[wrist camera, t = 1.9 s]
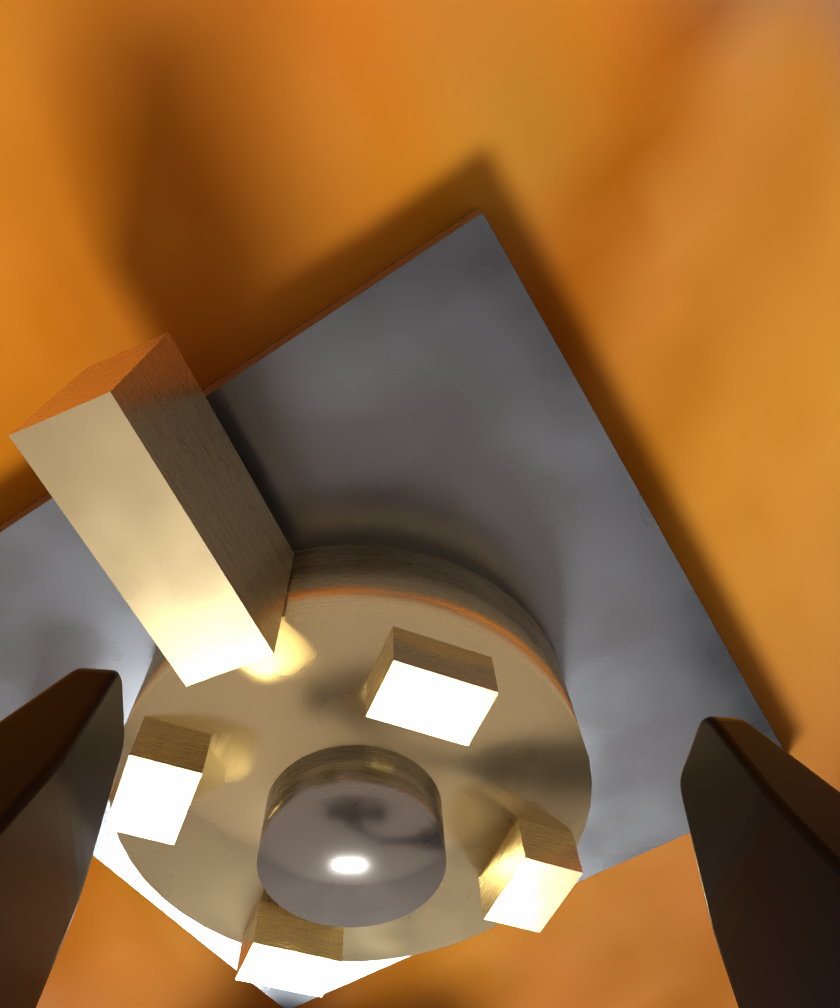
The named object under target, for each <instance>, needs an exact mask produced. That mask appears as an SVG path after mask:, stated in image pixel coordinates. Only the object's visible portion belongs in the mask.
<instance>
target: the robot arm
mask: <svg viewBox="0 0 840 1008" xmlns="http://www.w3.org/2000/svg"><path fill="white" fill-rule="evenodd" d="M123 743H124V709H123V687H122V679H121V676H120V674H119V673H118V672H117V671H115V670H108V669H96V668H78V669H75V670H73V671H72V672H70V673H69V674H67V675H66V676H64V677H63V678H61V679H60V680H59V681H57V682H56V683H54V684H53V685H51V686H50V687H49V688H47V689H46V690H44V691H43V692H41V693H40V694H38V695H37V696H36V697H34V698H33V699H31V700H30V701H28V702H27V703H26V704H24V705H23V706H21V707H20V708H18V709H17V710H16V711H14V712H13V713H11V714H10V715H8V716H7V717H5V718H4V719H3V720H1V721H0V1008H36V1006H37V1003H38V1001H39V999H40V996H41V994H42V991H43V989H44V986H45V984H46V982H47V979H48V977H49V974H50V972H51V969H52V967H53V964H54V962H55V960H56V957H57V955H58V952H59V950H60V947H61V945H62V943H63V940H64V938H65V935H66V933H67V930H68V928H69V926H70V923H71V920H72V918H73V915H74V912H75V910H76V907H77V904H78V902H79V899H80V896H81V893H82V889H83V886H84V883H85V879H86V876H87V873H88V870H89V866H90V863H91V859H92V856H93V852H94V849H95V845H96V842H97V838H98V835H99V831H100V828H101V824H102V821H103V817H104V814H105V810H106V807H107V803H108V800H109V796H110V793H111V789H112V786H113V782H114V779H115V775H116V772H117V768H118V765H119V762H120V758H121V754H122V749H123ZM680 788H681V795H682V800H683V804H684V808H685V813H686V817H687V821H688V826H689V830H690V834H691V839H692V843H693V847H694V852H695V856H696V860H697V865H698V869H699V873H700V878H701V882H702V886H703V891H704V895H705V900H706V904H707V908H708V912H709V916H710V920H711V923H712V927H713V931H714V934H715V937H716V941H717V944H718V947H719V950H720V953H721V956H722V959H723V962H724V965H725V968H726V971H727V974H728V977H729V980H730V983H731V986H732V989H733V992H734V995H735V998H736V1001H737V1004H738V1007H739V1008H840V792H839V791H837V790H836V789H835V788H833V787H832V786H831V785H829V784H828V783H827V782H825V781H824V780H823V779H822V778H820V777H819V776H818V775H816V774H815V773H814V772H812V771H811V770H810V769H808V768H807V767H806V766H805V765H803V764H802V763H801V762H799V761H798V760H797V759H795V758H794V757H793V756H791V755H790V754H789V753H787V752H786V751H785V750H784V749H782V748H781V747H780V746H778V745H777V744H776V743H774V742H773V741H772V740H770V739H769V738H768V737H767V736H765V735H764V734H763V733H761V732H760V731H759V730H757V729H756V728H755V727H753V726H752V725H751V724H749V723H748V722H747V721H745V720H743V719H739V718H730V717H717V716H710V717H706V718H705V719H703V720H702V722H701V723H700V725H699V727H698V729H697V732H696V734H695V737H694V739H693V742H692V745H691V747H690V750H689V752H688V755H687V758H686V760H685V763H684V766H683V768H682V772H681V778H680Z"/></svg>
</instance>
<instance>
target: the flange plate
mask: <svg viewBox="0 0 840 1008" xmlns="http://www.w3.org/2000/svg"><path fill="white" fill-rule="evenodd" d="M202 392H203V393H204V395H205V397H206V399H207V400H208V402H209V404H210V406H211V408H212V409H213V411H214V413H215V415H216V416H217V418H218V420H219V422H220V423H221V425H222V427H223V429H224V430H225V432H226V434H227V436H228V438H229V439H230V441H231V443H232V445H233V446H234V448H235V450H236V452H237V453H238V455H239V457H240V459H241V461H242V462H243V464H244V466H245V468H246V469H247V471H248V473H249V475H250V476H251V478H252V480H253V482H254V483H255V485H256V487H257V489H258V491H259V492H260V494H261V496H262V498H263V499H264V501H265V503H266V505H267V506H268V508H269V510H270V512H271V514H272V515H273V517H274V519H275V521H276V522H277V524H278V526H279V528H280V529H281V531H282V533H283V535H284V536H285V538H286V540H287V542H288V544H289V545H290V547H291V549H292V551H299V550H304V549H309V548H314V547H320V546H334V545H347V544H357V545H382V546H388V547H395V548H401V549H408V550H413V551H417V552H420V553H424V554H428V555H431V556H435V557H438V558H442V559H444V560H447V561H449V562H452V563H454V564H456V565H459V566H461V567H464V568H466V569H469V570H470V571H472V572H474V573H476V574H477V575H479V576H481V577H483V578H484V579H486V580H488V581H490V582H491V583H493V584H494V585H496V586H497V587H498V588H500V589H501V590H502V591H504V592H505V593H506V594H508V595H509V596H510V597H512V598H513V599H514V600H515V601H516V602H517V603H518V604H519V605H520V606H521V607H522V608H523V609H524V610H525V611H526V612H527V613H528V614H529V615H530V616H531V617H532V618H533V619H534V621H535V622H536V624H537V625H538V626H539V628H540V629H541V630H542V632H543V633H544V634H545V636H546V637H547V639H548V641H549V643H550V645H551V647H552V649H553V651H554V653H555V655H556V657H557V659H558V662H559V666H560V669H561V672H562V675H563V678H564V681H565V684H566V687H567V691H568V694H569V697H570V700H571V703H572V706H573V709H574V712H575V716H576V719H577V722H578V725H579V728H580V731H581V734H582V738H583V741H584V744H585V747H586V750H587V753H588V756H589V761H590V769H591V777H592V792H591V805H590V810H589V814H588V818H587V823H586V826H585V829H584V831H583V834H582V836H581V838H580V841H579V843H578V846H577V851H578V855H579V859H580V863H581V866H582V870H583V874H582V875H581V877H580V878H579V879H578V881H577V882H579V881H581V880H583V879H586V878H588V877H590V876H592V875H595V874H597V873H599V872H601V871H604V870H606V869H608V868H610V867H613V866H615V865H617V864H620V863H622V862H624V861H626V860H629V859H631V858H633V857H635V856H638V855H640V854H642V853H644V852H647V851H649V850H651V849H653V848H656V847H658V846H660V845H663V844H665V843H667V842H669V841H672V840H674V839H676V838H678V837H681V836H683V835H685V834H687V833H690V830H689V826H688V821H687V817H686V813H685V808H684V804H683V800H682V795H681V788H680V778H681V772H682V768H683V766H684V763H685V760H686V758H687V755H688V752H689V750H690V747H691V745H692V742H693V739H694V737H695V734H696V732H697V729H698V727H699V725H700V723H701V722H702V720H703V719H705V718H706V717H710V716H717V717H730V718H739V719H743V720H745V721H747V722H748V723H749V724H751V725H752V726H753V727H755V728H756V729H757V730H759V731H760V732H761V733H763V734H764V735H765V736H767V737H768V738H769V739H770V740H772V741H773V742H774V743H776V744H777V745H778V746H780V747H781V748H782V746H781V745H780V743H779V741H778V739H777V737H776V736H775V734H774V732H773V730H772V728H771V727H770V725H769V723H768V721H767V719H766V718H765V716H764V714H763V712H762V711H761V709H760V707H759V705H758V703H757V702H756V700H755V698H754V696H753V694H752V693H751V691H750V689H749V687H748V686H747V684H746V682H745V680H744V678H743V677H742V675H741V673H740V671H739V669H738V668H737V666H736V664H735V662H734V661H733V659H732V657H731V655H730V653H729V652H728V650H727V648H726V646H725V644H724V643H723V641H722V639H721V637H720V635H719V634H718V632H717V630H716V628H715V627H714V625H713V623H712V621H711V619H710V618H709V616H708V614H707V612H706V610H705V609H704V607H703V605H702V603H701V602H700V600H699V598H698V596H697V594H696V593H695V591H694V589H693V587H692V585H691V584H690V582H689V580H688V578H687V577H686V575H685V573H684V571H683V569H682V568H681V566H680V564H679V562H678V560H677V559H676V557H675V555H674V553H673V552H672V550H671V548H670V546H669V544H668V543H667V541H666V539H665V537H664V535H663V534H662V532H661V530H660V528H659V526H658V525H657V523H656V521H655V519H654V518H653V516H652V514H651V512H650V510H649V509H648V507H647V505H646V503H645V501H644V500H643V498H642V496H641V494H640V493H639V491H638V489H637V487H636V485H635V484H634V482H633V480H632V478H631V476H630V475H629V473H628V471H627V469H626V468H625V466H624V464H623V462H622V460H621V459H620V457H619V455H618V453H617V451H616V450H615V448H614V446H613V444H612V443H611V441H610V439H609V437H608V435H607V434H606V432H605V430H604V428H603V426H602V425H601V423H600V421H599V419H598V417H597V416H596V414H595V412H594V410H593V409H592V407H591V405H590V403H589V401H588V400H587V398H586V396H585V394H584V392H583V391H582V389H581V387H580V385H579V384H578V382H577V380H576V378H575V376H574V375H573V373H572V371H571V369H570V367H569V366H568V364H567V362H566V360H565V359H564V357H563V355H562V353H561V351H560V350H559V348H558V346H557V344H556V342H555V341H554V339H553V337H552V335H551V333H550V332H549V330H548V328H547V326H546V325H545V323H544V321H543V319H542V317H541V316H540V314H539V312H538V310H537V308H536V307H535V305H534V303H533V301H532V300H531V298H530V296H529V294H528V292H527V291H526V289H525V287H524V285H523V283H522V282H521V280H520V278H519V276H518V275H517V273H516V271H515V269H514V267H513V266H512V264H511V262H510V260H509V258H508V257H507V255H506V253H505V251H504V250H503V248H502V246H501V244H500V242H499V241H498V239H497V237H496V235H495V233H494V232H493V230H492V228H491V226H490V224H489V223H488V221H487V219H486V217H485V216H484V214H483V212H482V211H481V210H480V209H479V208H476V209H475V210H473V211H472V212H470V213H469V214H467V215H466V216H464V217H463V218H461V219H460V220H458V221H457V222H455V223H454V224H452V225H451V226H449V227H448V228H446V229H445V230H443V231H442V232H440V233H439V234H437V235H436V236H434V237H433V238H431V239H430V240H428V241H427V242H425V243H424V244H422V245H421V246H419V247H418V248H416V249H415V250H413V251H412V252H410V253H409V254H407V255H406V256H404V257H403V258H401V259H400V260H398V261H397V262H395V263H394V264H392V265H391V266H389V267H388V268H386V269H385V270H383V271H382V272H380V273H379V274H377V275H376V276H374V277H373V278H371V279H370V280H368V281H367V282H365V283H364V284H362V285H361V286H359V287H358V288H356V289H355V290H353V291H352V292H350V293H349V294H347V295H346V296H344V297H342V298H341V299H339V300H338V301H336V302H335V303H333V304H332V305H330V306H329V307H327V308H326V309H324V310H323V311H321V312H320V313H318V314H317V315H315V316H314V317H312V318H311V319H309V320H308V321H306V322H305V323H303V324H302V325H300V326H299V327H297V328H296V329H294V330H293V331H291V332H290V333H288V334H287V335H285V336H284V337H282V338H281V339H279V340H278V341H276V342H275V343H273V344H272V345H270V346H269V347H267V348H266V349H264V350H263V351H261V352H260V353H258V354H257V355H255V356H254V357H252V358H251V359H249V360H248V361H246V362H245V363H243V364H242V365H240V366H239V367H237V368H236V369H234V370H233V371H231V372H230V373H228V374H227V375H225V376H224V377H222V378H221V379H219V380H218V381H216V382H215V383H213V384H212V385H210V386H209V387H207V388H206V389H204V390H203V391H202ZM157 648H158V646H157V644H156V643H155V642H154V640H153V639H152V637H151V636H150V635H149V633H148V632H147V630H146V629H145V627H144V626H143V625H142V623H141V622H140V620H139V619H138V618H137V616H136V615H135V613H134V612H133V611H132V609H131V608H130V606H129V605H128V603H127V602H126V601H125V599H124V598H123V596H122V595H121V594H120V592H119V591H118V589H117V588H116V586H115V585H114V584H113V582H112V581H111V579H110V578H109V577H108V575H107V574H106V572H105V571H104V569H103V568H102V567H101V565H100V564H99V562H98V561H97V560H96V558H95V557H94V555H93V554H92V553H91V551H90V550H89V548H88V547H87V545H86V544H85V543H84V541H83V540H82V538H81V537H80V536H79V534H78V533H77V531H76V530H75V528H74V527H73V526H72V524H71V523H70V521H69V520H68V519H67V517H66V516H65V514H64V513H63V512H62V510H61V509H60V507H59V506H58V504H57V503H56V502H55V500H54V499H53V497H52V496H51V495H50V493H48V494H46V495H45V496H43V497H42V498H40V499H39V500H37V501H36V502H34V503H33V504H31V505H30V506H28V507H27V508H25V509H24V510H22V511H21V512H19V513H18V514H16V515H15V516H13V517H12V518H10V519H9V520H7V521H6V522H4V523H3V524H1V525H0V721H1V720H3V719H4V718H5V717H7V716H8V715H10V714H11V713H13V712H14V711H16V710H17V709H18V708H20V707H21V706H23V705H24V704H26V703H27V702H28V701H30V700H31V699H33V698H34V697H36V696H37V695H38V694H40V693H41V692H43V691H44V690H46V689H47V688H49V687H50V686H51V685H53V684H54V683H56V682H57V681H59V680H60V679H61V678H63V677H64V676H66V675H67V674H69V673H70V672H72V671H73V670H75V669H78V668H96V669H108V670H115V671H117V672H118V673H119V674H120V676H121V679H122V687H123V709H124V726H125V723H126V721H127V719H128V716H129V714H130V712H131V709H132V707H133V704H134V702H135V700H136V697H137V695H138V693H139V690H140V688H141V686H142V683H143V681H144V678H145V676H146V674H147V671H148V669H149V667H150V664H151V662H152V660H153V657H154V655H155V653H156V650H157ZM782 749H783V748H782ZM110 811H111V808H110V801H109V800H108V803H107V807H106V810H105V814H104V817H103V821H102V824H101V828H100V831H99V835H98V838H97V842H96V845H95V849H94V852H93V855H94V856H95V857H96V858H97V859H99V860H100V861H101V862H102V863H104V864H105V865H106V866H107V867H109V868H110V869H111V870H112V871H114V872H115V873H116V874H117V875H119V876H120V877H121V878H122V879H124V880H125V881H126V882H127V883H129V884H130V885H131V886H132V887H133V888H135V889H136V890H137V891H138V892H140V893H141V894H142V895H143V896H145V897H146V898H147V899H148V900H150V901H151V902H152V903H153V904H155V905H156V906H157V907H158V908H160V909H161V910H162V911H163V912H165V913H166V914H167V915H168V916H170V917H171V918H172V919H173V920H175V921H176V922H177V923H178V924H180V925H181V926H182V927H183V928H184V929H186V930H187V931H188V932H189V933H191V934H192V935H193V936H194V937H196V938H197V939H198V940H199V941H201V942H202V943H203V944H204V945H206V946H207V947H208V948H209V949H211V950H212V951H213V952H214V953H216V954H217V955H218V956H219V957H221V958H222V959H223V960H224V961H226V962H227V963H228V964H229V965H231V966H232V967H233V968H234V969H235V970H237V966H238V960H239V955H240V949H241V943H240V942H237V941H234V940H232V939H229V938H227V937H224V936H222V935H220V934H218V933H216V932H214V931H212V930H210V929H208V928H206V927H204V926H202V925H200V924H199V923H197V922H195V921H194V920H192V919H191V918H189V917H187V916H186V915H184V914H182V913H181V912H180V911H179V910H177V909H176V908H175V907H173V906H172V905H171V904H170V903H168V902H167V901H166V900H164V899H163V898H162V897H161V896H160V895H159V894H158V893H157V892H156V891H155V890H154V889H153V888H152V887H151V886H150V885H149V884H148V883H147V882H146V881H145V880H144V878H143V877H142V876H141V874H140V873H139V872H138V870H137V869H136V868H135V866H134V865H133V864H132V862H131V861H130V859H129V857H128V855H127V853H126V852H125V850H124V848H123V846H122V844H121V842H120V840H119V837H118V834H117V831H113V830H108V829H105V826H106V823H107V820H108V817H109V814H110ZM577 882H576V883H577ZM407 957H409V956H405V957H398V958H392V959H383V960H371V961H342V963H341V965H340V967H339V968H338V970H337V972H336V974H335V975H334V977H333V979H332V981H331V982H330V984H329V986H328V987H327V989H326V991H325V993H328V992H330V991H332V990H334V989H337V988H339V987H341V986H343V985H346V984H348V983H350V982H353V981H355V980H357V979H359V978H362V977H364V976H366V975H368V974H371V973H373V972H375V971H377V970H380V969H382V968H384V967H386V966H389V965H391V964H393V963H396V962H398V961H400V960H402V959H405V958H407ZM253 984H254V983H253ZM254 985H255V986H257V987H258V988H259V989H260V990H262V991H263V992H264V993H265V994H267V995H268V996H269V997H270V998H272V999H273V1000H274V1001H275V1002H277V1003H278V1004H279V1005H280V1006H281V1007H283V1008H294V1007H296V1006H298V1005H300V1004H303V1003H305V1002H307V1001H310V1000H312V999H314V998H316V997H317V996H312V995H307V994H303V993H298V992H293V991H288V990H283V989H278V988H273V987H269V986H264V985H259V984H254ZM325 993H324V994H325Z"/></svg>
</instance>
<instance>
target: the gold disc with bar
mask: <svg viewBox="0 0 840 1008" xmlns="http://www.w3.org/2000/svg"><path fill="white" fill-rule="evenodd" d="M9 437H10V438H11V439H12V441H13V442H14V444H15V445H16V446H17V448H18V449H19V451H20V452H21V454H22V455H23V456H24V458H25V459H26V461H27V462H28V463H29V465H30V466H31V468H32V469H33V471H34V472H35V473H36V475H37V476H38V478H39V479H40V480H41V482H42V483H43V485H44V486H45V487H46V489H47V490H48V492H49V493H50V495H51V496H52V497H53V499H54V500H55V502H56V503H57V504H58V506H59V507H60V509H61V510H62V512H63V513H64V514H65V516H66V517H67V519H68V520H69V521H70V523H71V524H72V526H73V527H74V528H75V530H76V531H77V533H78V534H79V536H80V537H81V538H82V540H83V541H84V543H85V544H86V545H87V547H88V548H89V550H90V551H91V553H92V554H93V555H94V557H95V558H96V560H97V561H98V562H99V564H100V565H101V567H102V568H103V569H104V571H105V572H106V574H107V575H108V577H109V578H110V579H111V581H112V582H113V584H114V585H115V586H116V588H117V589H118V591H119V592H120V594H121V595H122V596H123V598H124V599H125V601H126V602H127V603H128V605H129V606H130V608H131V609H132V611H133V612H134V613H135V615H136V616H137V618H138V619H139V620H140V622H141V623H142V625H143V626H144V627H145V629H146V630H147V632H148V633H149V635H150V636H151V637H152V639H153V640H154V642H155V643H156V644H157V646H158V648H157V650H156V653H155V655H154V657H153V660H152V662H151V664H150V667H149V669H148V671H147V674H146V676H145V678H144V681H143V683H142V686H141V688H140V690H139V693H138V695H137V697H136V700H135V702H134V704H133V707H132V709H131V712H130V714H129V716H128V719H127V721H126V723H125V726H124V743H123V749H122V754H121V758H120V762H119V765H118V768H117V772H116V775H115V779H114V782H113V786H112V789H111V793H110V796H109V801H110V808H111V811H110V814H109V817H108V820H107V823H106V826H105V829H108V830H113V831H117V834H118V837H119V840H120V842H121V844H122V846H123V848H124V850H125V852H126V853H127V855H128V857H129V859H130V861H131V862H132V864H133V865H134V866H135V868H136V869H137V870H138V872H139V873H140V874H141V876H142V877H143V878H144V880H145V881H146V882H147V883H148V884H149V885H150V886H151V887H152V888H153V889H154V890H155V891H156V892H157V893H158V894H159V895H160V896H161V897H162V898H163V899H164V900H166V901H167V902H168V903H170V904H171V905H172V906H173V907H175V908H176V909H177V910H179V911H180V912H181V913H182V914H184V915H186V916H187V917H189V918H191V919H192V920H194V921H195V922H197V923H199V924H200V925H202V926H204V927H206V928H208V929H210V930H212V931H214V932H216V933H218V934H220V935H222V936H224V937H227V938H229V939H232V940H234V941H237V942H240V943H241V949H240V955H239V960H238V966H237V972H236V978H235V980H239V981H244V982H249V983H254V984H259V985H264V986H269V987H273V988H278V989H283V990H288V991H293V992H298V993H303V994H307V995H312V996H317V997H322V996H323V994H324V993H325V991H326V989H327V987H328V986H329V984H330V982H331V981H332V979H333V977H334V975H335V974H336V972H337V970H338V968H339V967H340V965H341V963H342V961H371V960H383V959H392V958H398V957H405V956H411V955H416V954H420V953H424V952H428V951H432V950H436V949H440V948H443V947H446V946H449V945H452V944H455V943H458V942H461V941H463V940H466V939H469V938H471V937H473V936H475V935H477V934H480V933H482V932H484V931H486V930H488V929H490V928H492V927H494V926H496V925H497V924H499V923H502V924H506V925H510V926H515V927H519V928H523V929H527V930H531V931H535V932H540V931H541V930H542V929H543V927H544V926H545V924H546V923H547V922H548V920H549V919H550V918H551V916H552V915H553V914H554V912H555V911H556V909H557V908H558V907H559V905H560V904H561V903H562V901H563V900H564V899H565V897H566V896H567V894H568V893H569V892H570V890H571V889H572V888H573V886H574V885H575V884H576V882H577V881H578V879H579V878H580V877H581V875H582V874H583V870H582V866H581V863H580V859H579V855H578V851H577V846H578V843H579V841H580V838H581V836H582V834H583V831H584V829H585V826H586V823H587V818H588V814H589V810H590V805H591V792H592V777H591V769H590V761H589V756H588V753H587V750H586V747H585V744H584V741H583V738H582V734H581V731H580V728H579V725H578V722H577V719H576V716H575V712H574V709H573V706H572V703H571V700H570V697H569V694H568V691H567V687H566V684H565V681H564V678H563V675H562V672H561V669H560V666H559V662H558V659H557V657H556V655H555V653H554V651H553V649H552V647H551V645H550V643H549V641H548V639H547V637H546V636H545V634H544V633H543V632H542V630H541V629H540V628H539V626H538V625H537V624H536V622H535V621H534V619H533V618H532V617H531V616H530V615H529V614H528V613H527V612H526V611H525V610H524V609H523V608H522V607H521V606H520V605H519V604H518V603H517V602H516V601H515V600H514V599H513V598H512V597H510V596H509V595H508V594H506V593H505V592H504V591H502V590H501V589H500V588H498V587H497V586H496V585H494V584H493V583H491V582H490V581H488V580H486V579H484V578H483V577H481V576H479V575H477V574H476V573H474V572H472V571H470V570H469V569H466V568H464V567H461V566H459V565H456V564H454V563H452V562H449V561H447V560H444V559H442V558H438V557H435V556H431V555H428V554H424V553H420V552H417V551H413V550H408V549H401V548H395V547H388V546H382V545H357V544H347V545H334V546H320V547H314V548H309V549H304V550H299V551H292V549H291V547H290V545H289V544H288V542H287V540H286V538H285V536H284V535H283V533H282V531H281V529H280V528H279V526H278V524H277V522H276V521H275V519H274V517H273V515H272V514H271V512H270V510H269V508H268V506H267V505H266V503H265V501H264V499H263V498H262V496H261V494H260V492H259V491H258V489H257V487H256V485H255V483H254V482H253V480H252V478H251V476H250V475H249V473H248V471H247V469H246V468H245V466H244V464H243V462H242V461H241V459H240V457H239V455H238V453H237V452H236V450H235V448H234V446H233V445H232V443H231V441H230V439H229V438H228V436H227V434H226V432H225V430H224V429H223V427H222V425H221V423H220V422H219V420H218V418H217V416H216V415H215V413H214V411H213V409H212V408H211V406H210V404H209V402H208V400H207V399H206V397H205V395H204V393H203V392H202V390H201V388H200V386H199V385H198V383H197V381H196V379H195V377H194V376H193V374H192V372H191V370H190V369H189V367H188V365H187V363H186V362H185V360H184V358H183V356H182V355H181V353H180V351H179V349H178V347H177V346H176V344H175V342H174V340H173V339H172V337H171V335H170V333H169V332H168V333H165V334H163V335H161V336H158V337H156V338H154V339H152V340H149V341H147V342H145V343H142V344H140V345H138V346H136V347H133V348H131V349H129V350H126V351H124V352H122V353H120V354H117V355H115V356H113V357H110V358H108V359H106V360H104V361H101V362H99V363H97V364H95V365H92V366H90V367H88V368H87V369H85V370H84V371H83V372H82V373H81V374H80V375H78V376H77V377H76V378H75V379H74V380H73V381H71V382H70V383H69V384H68V385H67V386H66V387H65V388H63V389H62V390H61V391H60V392H59V393H58V394H56V395H55V396H54V397H53V398H52V399H51V400H49V401H48V402H47V403H46V404H45V405H44V406H42V407H41V408H40V409H39V410H38V411H37V412H35V413H34V414H33V415H32V416H31V417H30V418H29V419H27V420H26V421H25V422H24V423H23V424H22V425H20V426H19V427H18V428H17V429H16V430H15V431H13V432H12V433H11V434H10V435H9Z"/></svg>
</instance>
